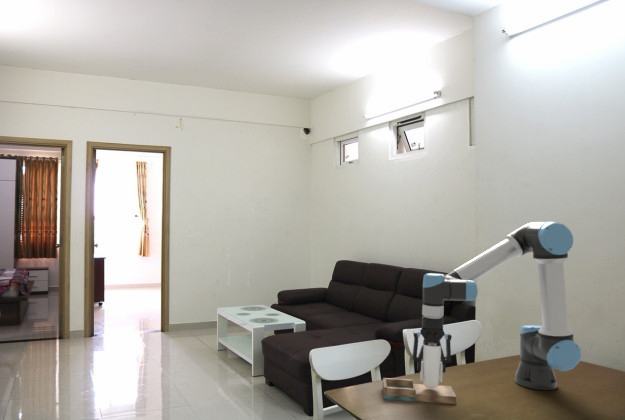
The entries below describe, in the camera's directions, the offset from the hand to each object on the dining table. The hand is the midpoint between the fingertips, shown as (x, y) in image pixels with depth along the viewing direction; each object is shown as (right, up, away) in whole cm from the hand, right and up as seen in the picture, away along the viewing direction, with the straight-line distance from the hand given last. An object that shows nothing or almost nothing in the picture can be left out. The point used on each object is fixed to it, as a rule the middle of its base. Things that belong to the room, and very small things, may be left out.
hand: (431, 380), depth 177 cm
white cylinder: (0, -2, 0) cm, 2 cm away
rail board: (-4, -6, 0) cm, 7 cm away
